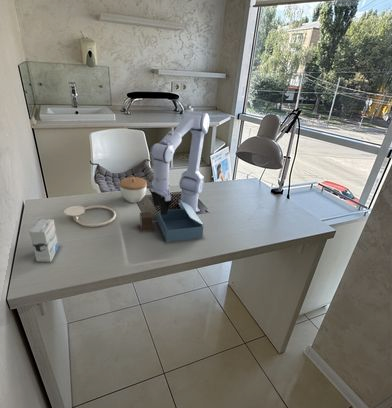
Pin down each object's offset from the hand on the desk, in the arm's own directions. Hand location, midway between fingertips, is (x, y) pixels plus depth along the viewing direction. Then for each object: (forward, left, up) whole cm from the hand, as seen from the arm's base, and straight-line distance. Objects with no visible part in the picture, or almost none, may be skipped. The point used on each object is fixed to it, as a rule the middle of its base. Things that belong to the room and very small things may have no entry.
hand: (160, 209), depth 114 cm
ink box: (+6, -41, -11) cm, 43 cm away
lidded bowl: (-31, -6, -11) cm, 33 cm away
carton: (0, +8, -10) cm, 13 cm away
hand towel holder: (-17, -26, -11) cm, 33 cm away
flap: (0, +12, -2) cm, 13 cm away
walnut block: (-4, -5, -10) cm, 12 cm away
